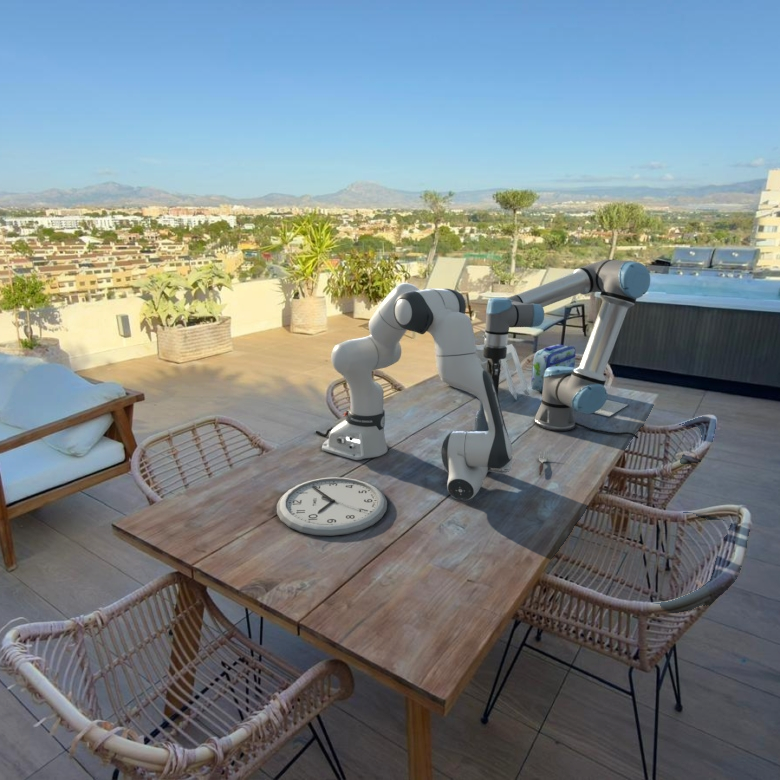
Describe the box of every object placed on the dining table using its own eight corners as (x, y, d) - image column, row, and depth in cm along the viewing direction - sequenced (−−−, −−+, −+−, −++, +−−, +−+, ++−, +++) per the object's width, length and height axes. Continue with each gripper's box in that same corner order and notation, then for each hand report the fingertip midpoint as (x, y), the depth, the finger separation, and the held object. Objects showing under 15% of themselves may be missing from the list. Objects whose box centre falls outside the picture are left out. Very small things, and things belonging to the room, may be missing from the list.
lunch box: (547, 397, 237) (552, 352, 231) (526, 391, 245) (531, 348, 238) (574, 386, 255) (580, 344, 249) (554, 381, 262) (559, 340, 256)
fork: (535, 475, 162) (535, 469, 161) (539, 455, 176) (540, 450, 175) (543, 477, 161) (544, 471, 160) (547, 456, 175) (548, 451, 175)
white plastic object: (461, 429, 252) (437, 405, 227) (444, 352, 274) (420, 323, 250) (535, 404, 240) (518, 377, 215) (510, 326, 262) (492, 293, 237)
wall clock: (392, 527, 129) (268, 531, 127) (391, 533, 130) (269, 537, 127) (383, 473, 158) (282, 475, 155) (383, 478, 158) (282, 480, 156)
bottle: (475, 474, 162) (480, 404, 156) (469, 466, 168) (473, 398, 161) (492, 472, 164) (498, 403, 157) (485, 465, 169) (490, 397, 162)
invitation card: (608, 416, 214) (573, 407, 224) (608, 416, 214) (573, 408, 224) (628, 404, 229) (594, 396, 238) (628, 405, 229) (594, 397, 238)
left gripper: (510, 462, 148) (517, 444, 160) (440, 450, 154) (451, 434, 167) (508, 482, 150) (515, 463, 162) (439, 470, 156) (450, 452, 169)
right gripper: (481, 339, 180) (475, 403, 187) (487, 351, 163) (481, 421, 170) (502, 340, 180) (496, 404, 187) (511, 352, 163) (504, 422, 170)
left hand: (482, 448), depth 164 cm, fingers closed on bottle, 5 cm apart
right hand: (489, 412), depth 178 cm, fingers closed on cap, 4 cm apart
